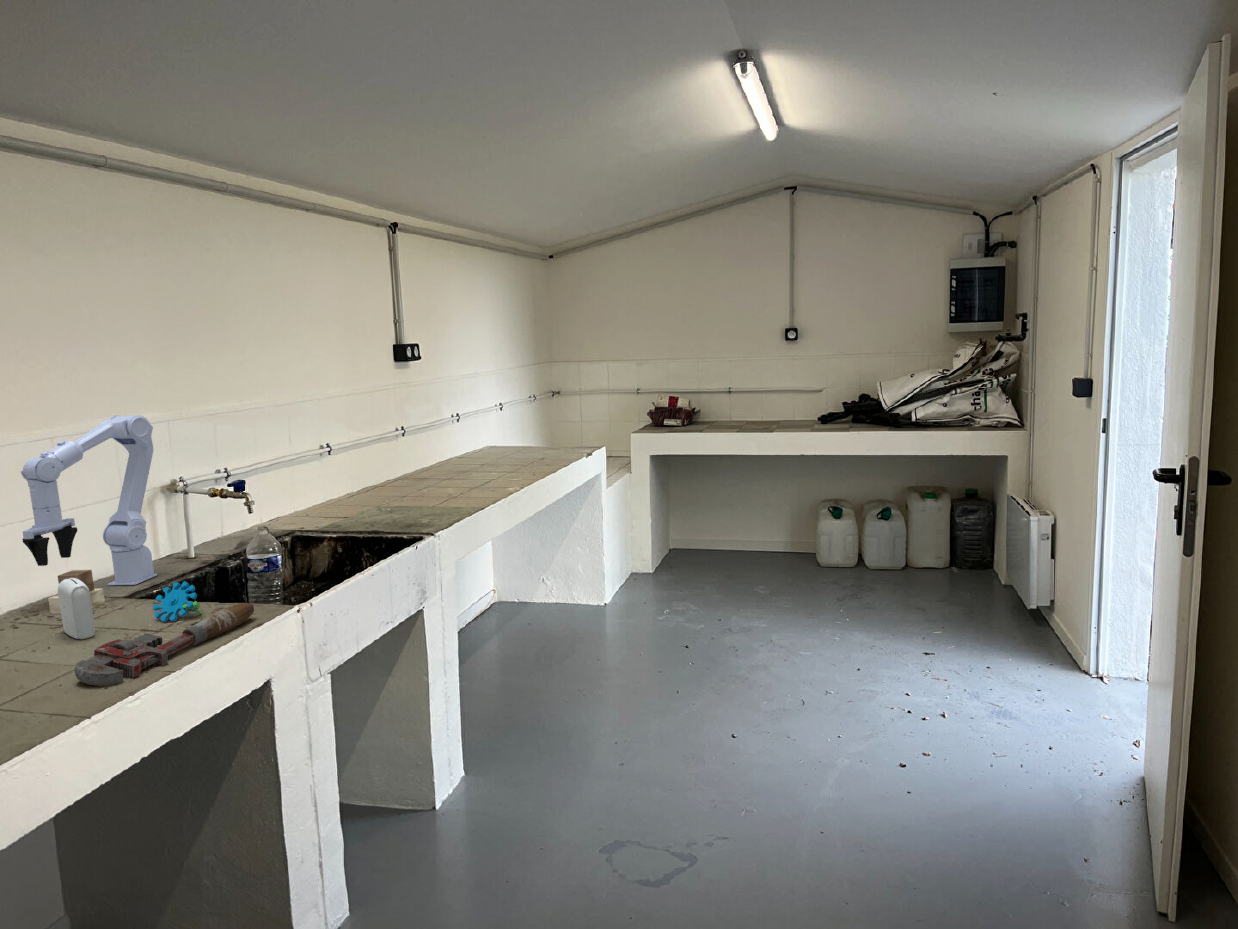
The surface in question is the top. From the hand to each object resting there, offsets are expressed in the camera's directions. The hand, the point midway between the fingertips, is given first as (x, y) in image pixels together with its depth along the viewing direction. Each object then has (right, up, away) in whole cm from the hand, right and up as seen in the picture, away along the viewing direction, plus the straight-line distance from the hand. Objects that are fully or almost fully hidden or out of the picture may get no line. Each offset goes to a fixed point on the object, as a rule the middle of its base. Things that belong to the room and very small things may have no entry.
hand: (54, 561), depth 220 cm
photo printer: (+21, -13, -25) cm, 36 cm away
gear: (+39, -11, -17) cm, 44 cm away
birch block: (+8, -11, -4) cm, 15 cm away
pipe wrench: (+48, -14, -38) cm, 63 cm away
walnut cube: (+9, -7, -5) cm, 12 cm away
